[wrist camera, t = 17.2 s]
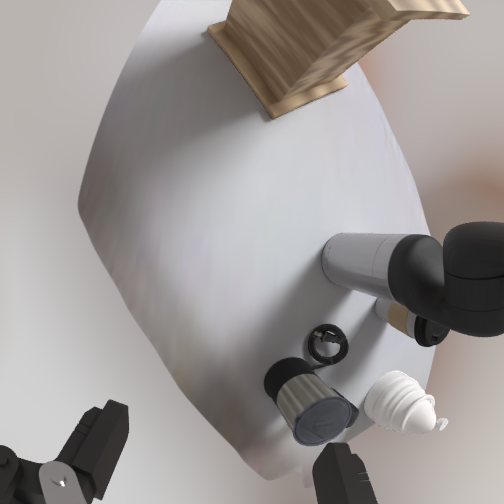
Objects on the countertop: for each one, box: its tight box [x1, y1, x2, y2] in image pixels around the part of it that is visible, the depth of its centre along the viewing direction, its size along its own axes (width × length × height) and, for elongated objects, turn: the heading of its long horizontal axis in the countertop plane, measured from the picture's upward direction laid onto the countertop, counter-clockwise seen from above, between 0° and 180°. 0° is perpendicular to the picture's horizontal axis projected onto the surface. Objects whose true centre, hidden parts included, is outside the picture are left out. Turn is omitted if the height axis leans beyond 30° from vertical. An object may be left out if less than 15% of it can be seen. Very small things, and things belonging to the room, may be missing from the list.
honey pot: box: [364, 370, 448, 435], centre depth 47 cm, size 13×13×18 cm
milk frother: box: [264, 324, 359, 446], centre depth 42 cm, size 14×16×15 cm
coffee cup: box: [375, 298, 450, 347], centre depth 46 cm, size 9×9×15 cm
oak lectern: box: [207, 0, 470, 119], centre depth 29 cm, size 20×24×32 cm
